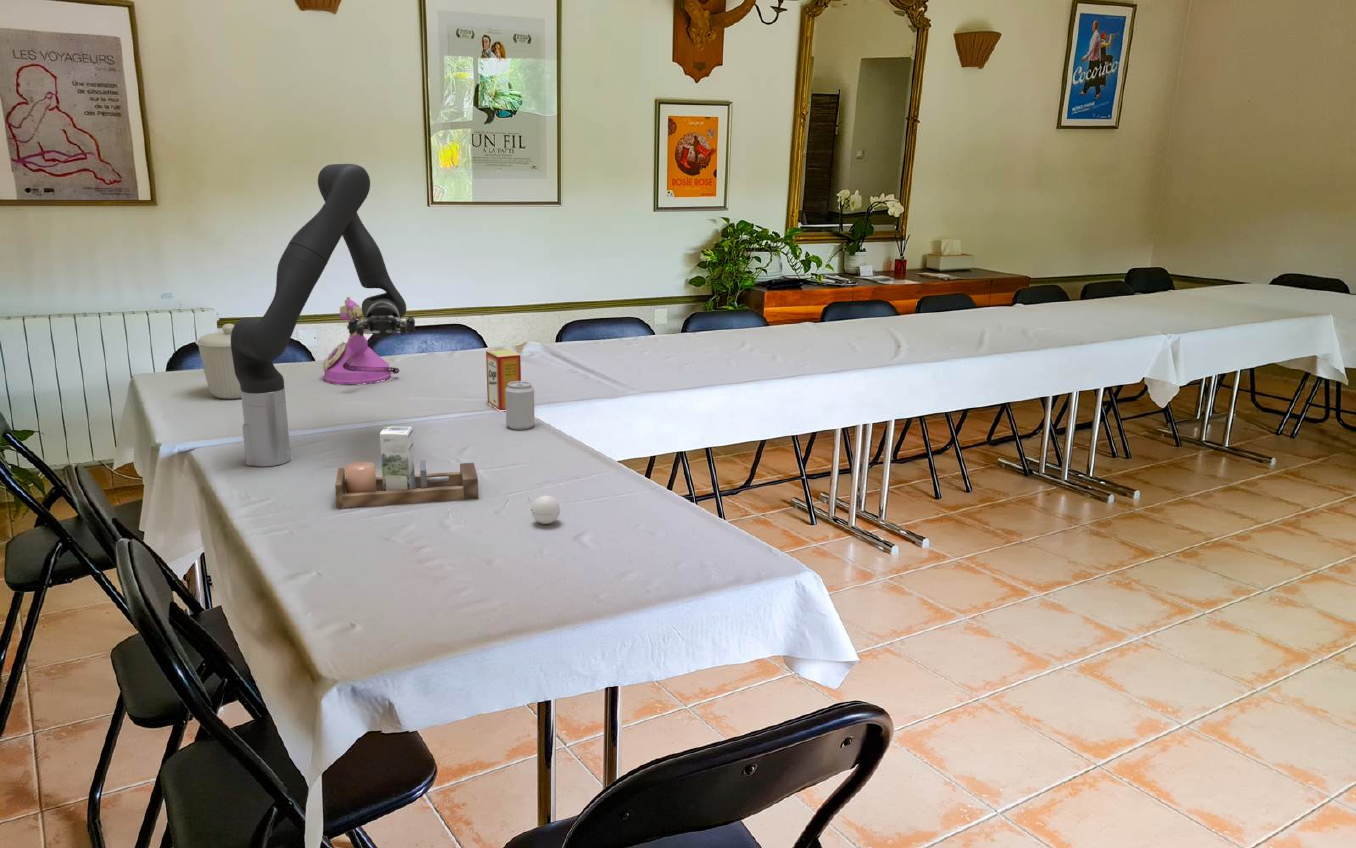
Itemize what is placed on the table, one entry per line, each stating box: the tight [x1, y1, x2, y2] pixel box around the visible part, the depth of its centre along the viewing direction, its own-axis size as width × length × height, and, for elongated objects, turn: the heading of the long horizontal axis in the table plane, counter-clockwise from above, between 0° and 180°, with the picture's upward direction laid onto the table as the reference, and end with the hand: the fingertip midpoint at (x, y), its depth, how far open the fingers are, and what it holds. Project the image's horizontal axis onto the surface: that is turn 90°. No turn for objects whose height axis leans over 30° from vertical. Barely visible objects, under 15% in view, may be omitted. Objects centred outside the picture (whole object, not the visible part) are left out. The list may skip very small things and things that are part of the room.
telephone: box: [322, 296, 400, 385], centre depth 301 cm, size 36×22×25 cm, turn 25°
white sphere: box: [530, 494, 561, 525], centre depth 190 cm, size 8×6×6 cm
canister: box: [194, 323, 242, 400], centre depth 281 cm, size 18×18×21 cm
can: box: [505, 380, 536, 431], centre depth 256 cm, size 8×8×12 cm
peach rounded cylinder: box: [344, 461, 378, 494], centre depth 202 cm, size 6×6×7 cm
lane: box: [334, 462, 479, 509], centre depth 205 cm, size 28×11×5 cm, turn 106°
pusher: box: [419, 459, 449, 489], centre depth 206 cm, size 6×7×6 cm
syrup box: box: [379, 426, 417, 491], centre depth 203 cm, size 6×6×14 cm
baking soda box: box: [485, 348, 522, 410], centre depth 276 cm, size 10×6×16 cm
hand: (381, 330), depth 213 cm, fingers open, 8 cm apart
